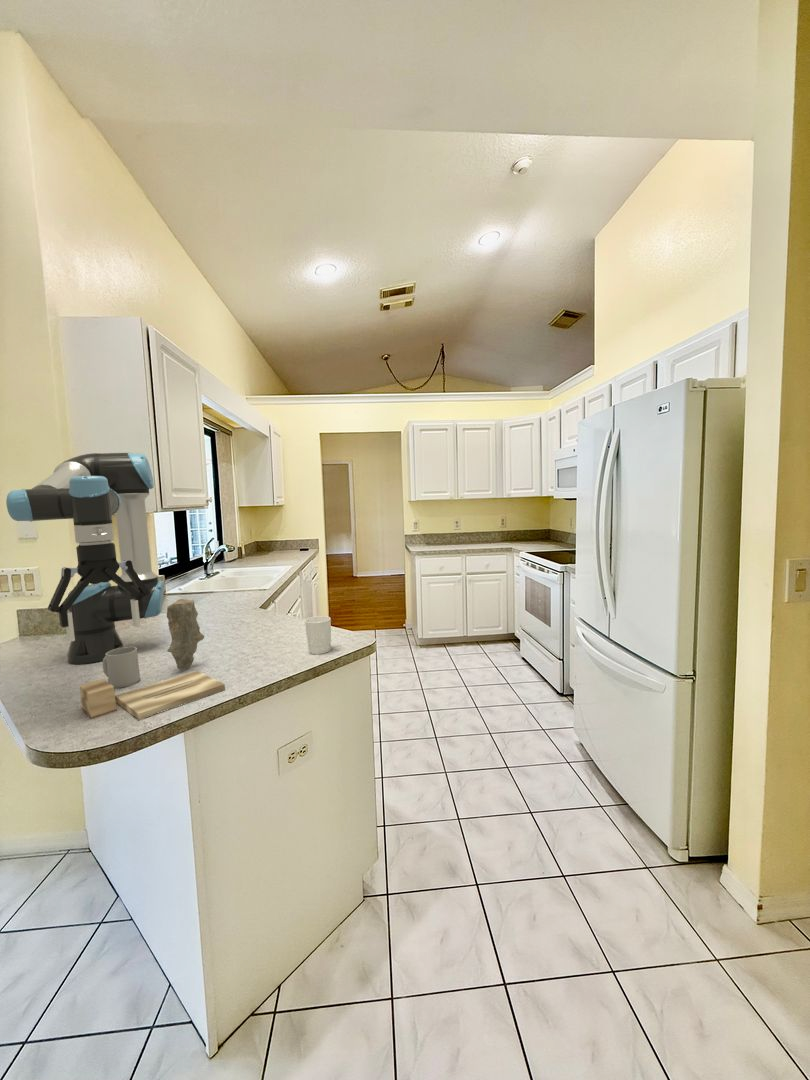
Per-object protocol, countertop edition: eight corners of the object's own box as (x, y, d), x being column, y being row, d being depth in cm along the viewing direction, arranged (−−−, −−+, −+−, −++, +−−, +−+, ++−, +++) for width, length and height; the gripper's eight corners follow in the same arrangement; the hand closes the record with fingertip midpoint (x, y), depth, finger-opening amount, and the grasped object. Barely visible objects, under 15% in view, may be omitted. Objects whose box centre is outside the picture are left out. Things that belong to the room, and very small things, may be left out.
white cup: (337, 648, 146) (335, 617, 146) (320, 656, 140) (318, 623, 139) (319, 645, 151) (317, 615, 150) (301, 652, 144) (299, 621, 143)
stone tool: (174, 677, 128) (167, 606, 127) (162, 674, 131) (155, 604, 129) (212, 662, 139) (206, 596, 137) (200, 660, 142) (194, 595, 140)
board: (115, 701, 114) (114, 695, 114) (197, 675, 129) (196, 670, 129) (139, 720, 104) (138, 713, 103) (225, 689, 118) (224, 683, 118)
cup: (125, 689, 122) (121, 656, 121) (94, 687, 124) (90, 654, 124) (146, 678, 129) (143, 647, 128) (116, 676, 131) (113, 646, 131)
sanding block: (81, 709, 111) (78, 685, 110) (106, 702, 115) (104, 678, 114) (91, 719, 105) (88, 694, 105) (117, 711, 109) (114, 686, 109)
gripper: (32, 549, 97) (44, 650, 98) (158, 538, 115) (166, 622, 117) (23, 548, 101) (35, 644, 103) (146, 537, 120) (154, 618, 122)
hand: (105, 632), depth 110 cm, fingers open, 13 cm apart
